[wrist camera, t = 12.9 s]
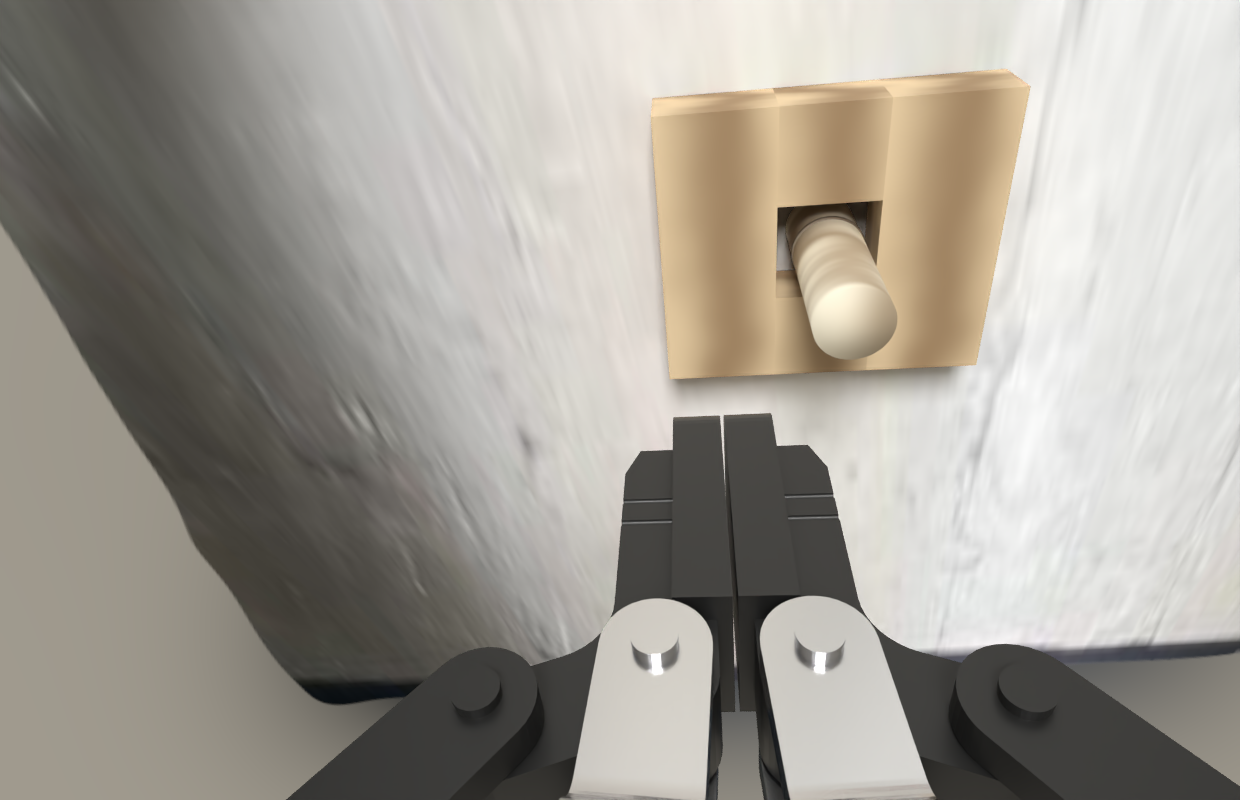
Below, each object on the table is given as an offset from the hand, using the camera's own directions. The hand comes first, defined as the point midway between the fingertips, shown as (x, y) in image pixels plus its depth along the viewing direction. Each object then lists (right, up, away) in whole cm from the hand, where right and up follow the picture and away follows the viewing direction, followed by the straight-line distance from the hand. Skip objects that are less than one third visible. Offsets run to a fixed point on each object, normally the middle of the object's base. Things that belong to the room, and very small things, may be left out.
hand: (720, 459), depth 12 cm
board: (+9, +10, +28) cm, 31 cm away
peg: (+9, +10, +28) cm, 31 cm away
